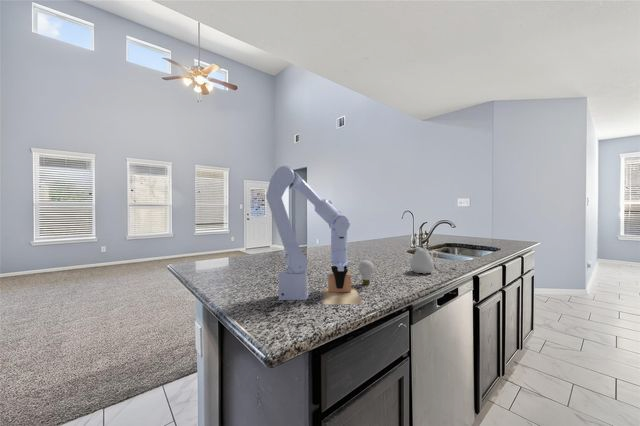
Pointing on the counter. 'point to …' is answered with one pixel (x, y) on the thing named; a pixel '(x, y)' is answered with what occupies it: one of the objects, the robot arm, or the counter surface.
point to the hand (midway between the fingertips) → (339, 287)
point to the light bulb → (366, 271)
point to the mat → (340, 297)
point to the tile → (332, 284)
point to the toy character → (422, 261)
